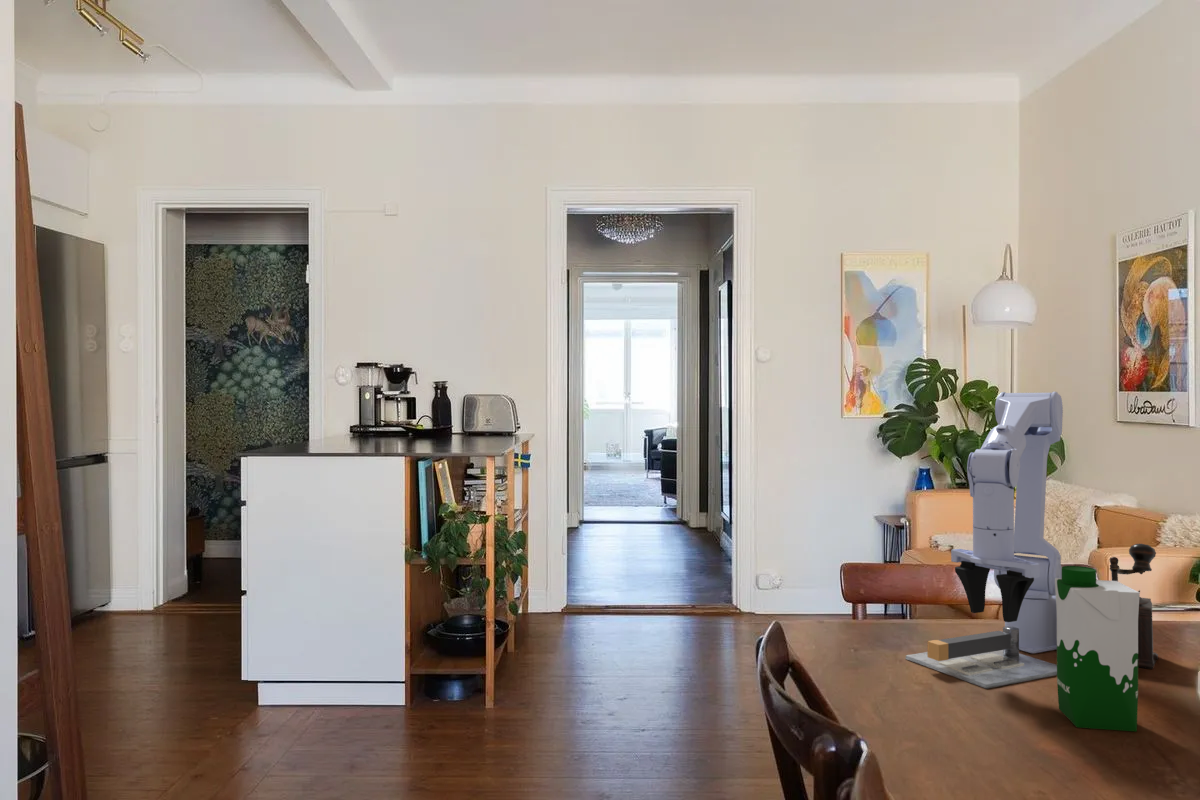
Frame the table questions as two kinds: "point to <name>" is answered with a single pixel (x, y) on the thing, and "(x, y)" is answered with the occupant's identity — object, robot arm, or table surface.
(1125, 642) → the milk carton
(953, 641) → the swing arm
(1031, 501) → the robot arm
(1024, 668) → the tray base
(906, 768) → the table surface
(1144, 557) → the manual coffee grinder
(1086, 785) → the table surface
